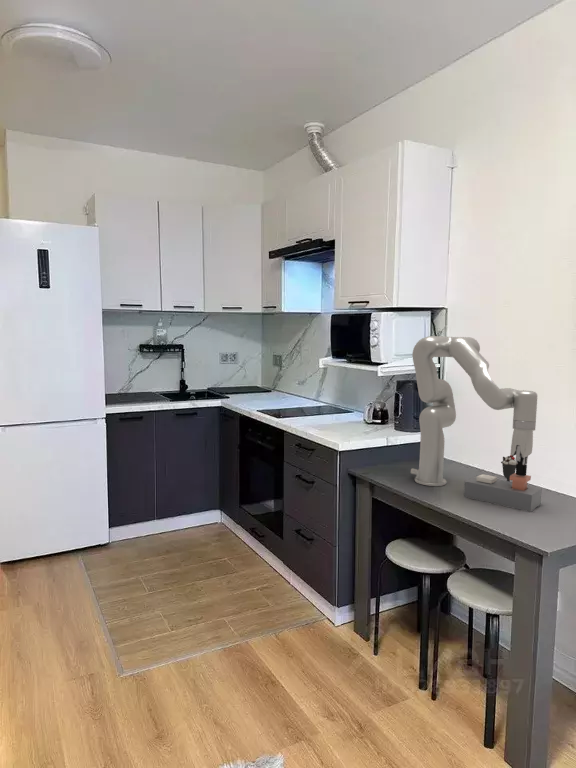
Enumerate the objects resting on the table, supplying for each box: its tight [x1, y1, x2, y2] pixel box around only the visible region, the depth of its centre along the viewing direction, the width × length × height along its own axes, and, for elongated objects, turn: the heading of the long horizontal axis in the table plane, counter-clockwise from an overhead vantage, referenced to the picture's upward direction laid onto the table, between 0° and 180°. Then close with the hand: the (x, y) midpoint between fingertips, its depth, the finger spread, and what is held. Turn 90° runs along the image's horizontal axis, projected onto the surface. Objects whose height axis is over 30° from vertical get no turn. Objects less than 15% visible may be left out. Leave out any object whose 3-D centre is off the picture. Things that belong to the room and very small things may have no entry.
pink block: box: [510, 472, 532, 491], centre depth 194 cm, size 6×6×8 cm
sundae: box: [500, 454, 516, 482], centre depth 215 cm, size 7×7×15 cm
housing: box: [463, 474, 543, 513], centre depth 198 cm, size 24×12×6 cm, turn 49°
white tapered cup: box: [476, 473, 498, 484], centre depth 202 cm, size 6×6×8 cm
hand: (520, 474), depth 194 cm, fingers closed
